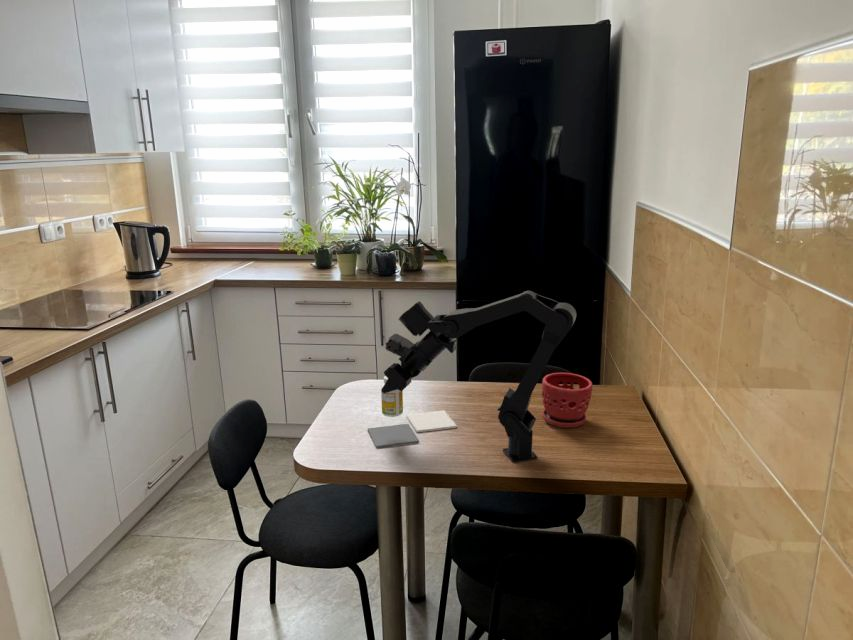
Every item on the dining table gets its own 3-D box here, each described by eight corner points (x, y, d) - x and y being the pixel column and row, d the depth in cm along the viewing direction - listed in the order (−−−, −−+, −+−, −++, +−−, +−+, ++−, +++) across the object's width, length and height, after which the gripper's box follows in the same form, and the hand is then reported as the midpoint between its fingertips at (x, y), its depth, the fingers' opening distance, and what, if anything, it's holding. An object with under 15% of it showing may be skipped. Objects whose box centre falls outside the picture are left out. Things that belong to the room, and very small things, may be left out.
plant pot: (537, 428, 169) (539, 385, 166) (543, 410, 182) (545, 370, 179) (588, 434, 166) (591, 390, 163) (591, 415, 178) (593, 374, 175)
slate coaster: (419, 442, 161) (419, 440, 161) (376, 448, 158) (376, 446, 158) (408, 425, 171) (408, 423, 171) (367, 430, 168) (367, 428, 168)
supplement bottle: (396, 407, 166) (395, 372, 164) (407, 414, 162) (406, 377, 160) (378, 412, 164) (377, 376, 161) (388, 418, 159) (387, 381, 157)
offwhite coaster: (456, 427, 170) (456, 425, 170) (416, 432, 167) (416, 430, 167) (444, 412, 180) (444, 410, 180) (406, 416, 177) (406, 414, 177)
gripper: (417, 316, 164) (379, 353, 171) (390, 335, 147) (349, 376, 154) (447, 348, 164) (407, 384, 170) (423, 370, 147) (380, 410, 153)
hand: (386, 387), depth 162 cm, fingers closed on supplement bottle, 5 cm apart
